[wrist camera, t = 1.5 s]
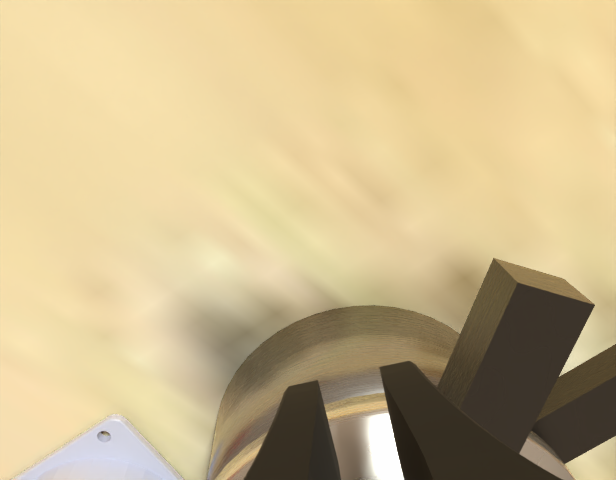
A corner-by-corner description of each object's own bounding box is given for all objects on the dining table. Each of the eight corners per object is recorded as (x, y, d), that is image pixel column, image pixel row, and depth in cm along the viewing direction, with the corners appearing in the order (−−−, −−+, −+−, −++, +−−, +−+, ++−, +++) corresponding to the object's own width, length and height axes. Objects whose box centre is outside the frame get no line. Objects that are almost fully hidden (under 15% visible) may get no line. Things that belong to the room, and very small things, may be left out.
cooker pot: (322, 590, 27) (333, 737, 21) (155, 410, 23) (115, 528, 18) (648, 408, 24) (759, 519, 19) (516, 178, 21) (603, 228, 15)
